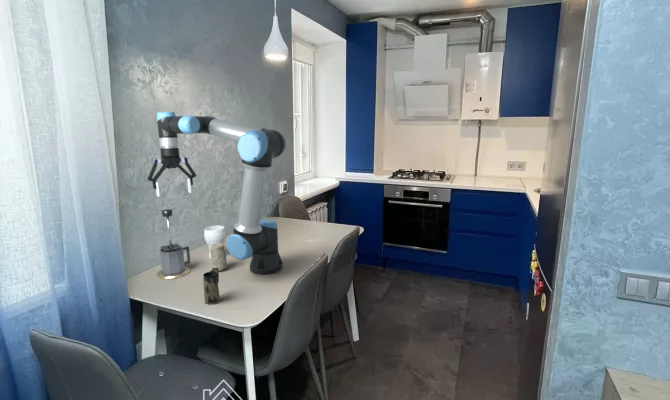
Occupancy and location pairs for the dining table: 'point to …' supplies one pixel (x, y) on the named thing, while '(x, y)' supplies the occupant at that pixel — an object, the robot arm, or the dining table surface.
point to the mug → (211, 286)
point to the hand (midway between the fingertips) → (174, 194)
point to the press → (173, 262)
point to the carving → (218, 256)
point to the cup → (214, 236)
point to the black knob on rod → (166, 214)
